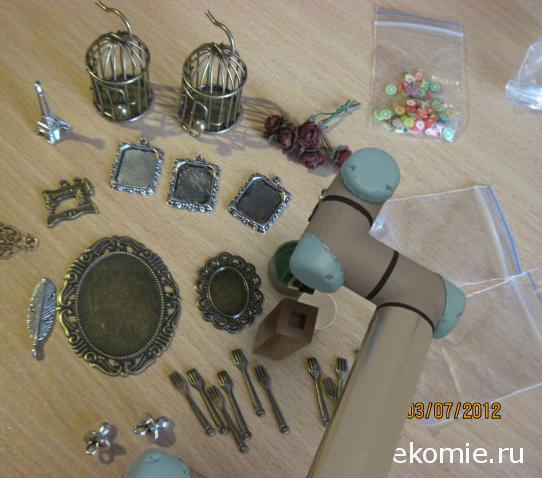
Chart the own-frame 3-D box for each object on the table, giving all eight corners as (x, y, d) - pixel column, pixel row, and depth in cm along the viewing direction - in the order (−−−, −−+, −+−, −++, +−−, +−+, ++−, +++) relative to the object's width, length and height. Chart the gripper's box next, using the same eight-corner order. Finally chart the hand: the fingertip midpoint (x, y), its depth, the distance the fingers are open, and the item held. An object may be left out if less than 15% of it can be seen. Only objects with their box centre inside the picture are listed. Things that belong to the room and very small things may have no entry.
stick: (294, 276, 118) (304, 273, 96) (287, 274, 118) (295, 271, 96) (296, 268, 118) (306, 265, 96) (289, 266, 118) (297, 262, 96)
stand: (279, 361, 112) (311, 343, 88) (251, 352, 112) (275, 332, 88) (286, 332, 114) (319, 307, 90) (258, 324, 114) (284, 297, 90)
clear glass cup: (323, 302, 117) (337, 291, 108) (322, 339, 115) (336, 331, 105) (287, 297, 117) (298, 286, 107) (285, 334, 114) (295, 326, 105)
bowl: (309, 302, 117) (317, 296, 111) (261, 288, 117) (266, 281, 111) (320, 256, 121) (327, 248, 115) (273, 243, 121) (279, 234, 115)
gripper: (333, 137, 90) (302, 190, 110) (299, 279, 81) (273, 308, 101) (377, 151, 90) (338, 201, 110) (348, 294, 81) (312, 320, 101)
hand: (307, 253), depth 106 cm, fingers open, 13 cm apart
